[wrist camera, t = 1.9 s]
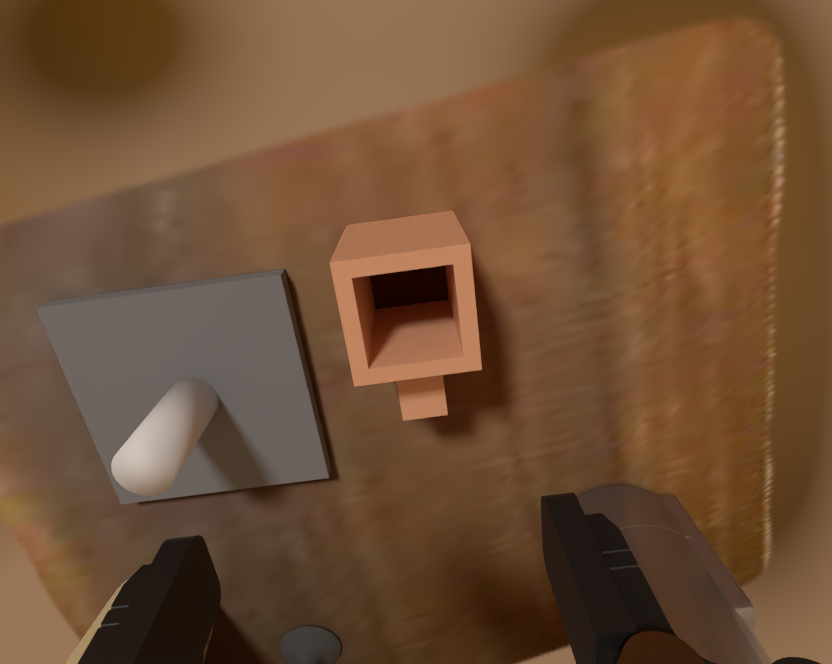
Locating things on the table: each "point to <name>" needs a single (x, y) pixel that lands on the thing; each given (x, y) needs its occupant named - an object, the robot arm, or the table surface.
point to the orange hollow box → (408, 308)
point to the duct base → (197, 346)
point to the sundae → (310, 646)
